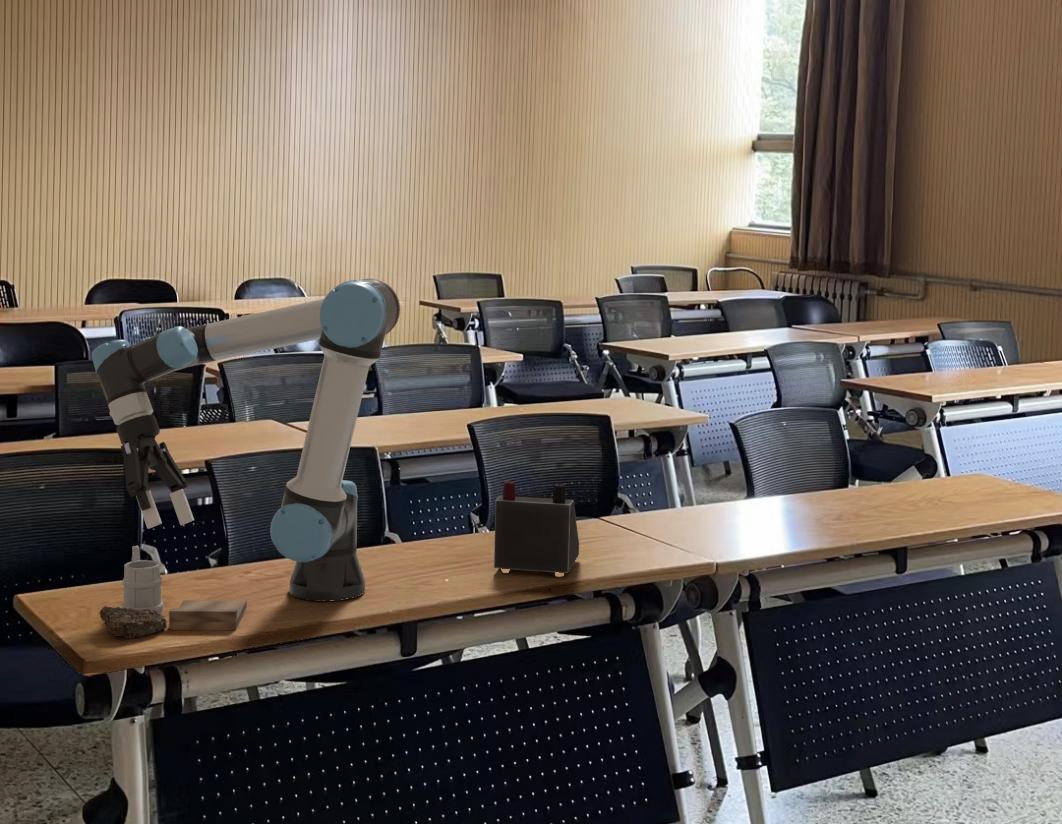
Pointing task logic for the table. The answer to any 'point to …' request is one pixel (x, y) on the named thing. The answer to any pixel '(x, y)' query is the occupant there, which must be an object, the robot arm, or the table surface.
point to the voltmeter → (535, 531)
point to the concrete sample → (132, 621)
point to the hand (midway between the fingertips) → (171, 524)
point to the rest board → (207, 615)
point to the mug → (142, 584)
